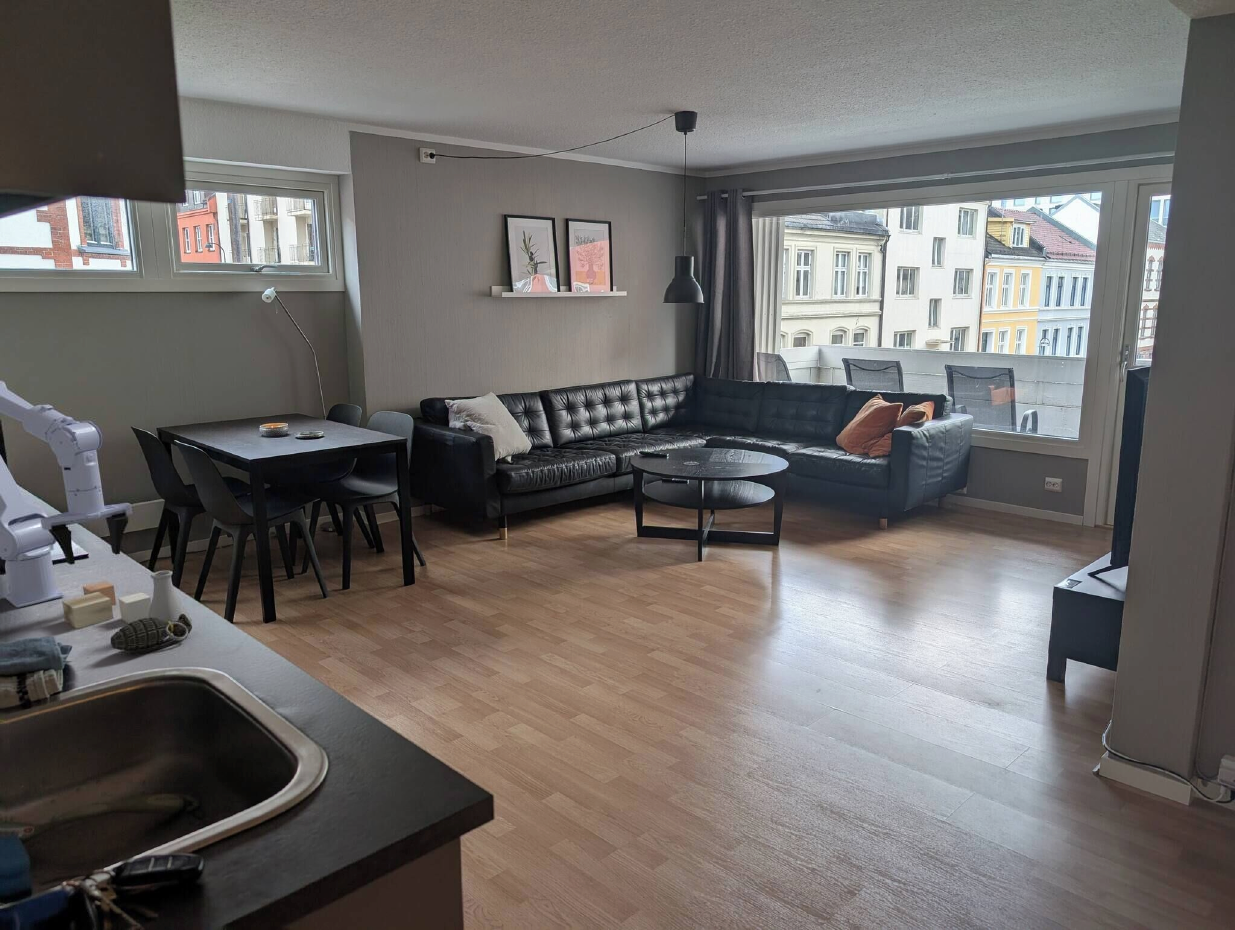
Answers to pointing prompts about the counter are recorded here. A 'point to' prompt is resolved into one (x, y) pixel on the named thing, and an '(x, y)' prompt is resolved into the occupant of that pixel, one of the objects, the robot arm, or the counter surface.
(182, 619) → the grenade
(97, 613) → the beech block
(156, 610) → the flask
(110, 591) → the brown cube
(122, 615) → the cream cube
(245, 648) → the counter surface
